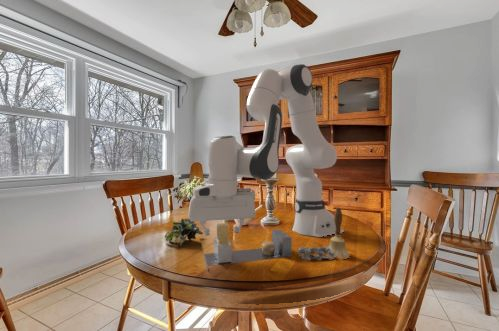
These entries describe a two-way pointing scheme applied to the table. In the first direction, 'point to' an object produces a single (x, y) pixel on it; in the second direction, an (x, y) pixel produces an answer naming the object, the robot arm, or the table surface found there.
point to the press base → (257, 251)
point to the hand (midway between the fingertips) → (222, 233)
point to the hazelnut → (268, 248)
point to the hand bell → (338, 238)
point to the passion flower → (183, 230)
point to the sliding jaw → (222, 244)
